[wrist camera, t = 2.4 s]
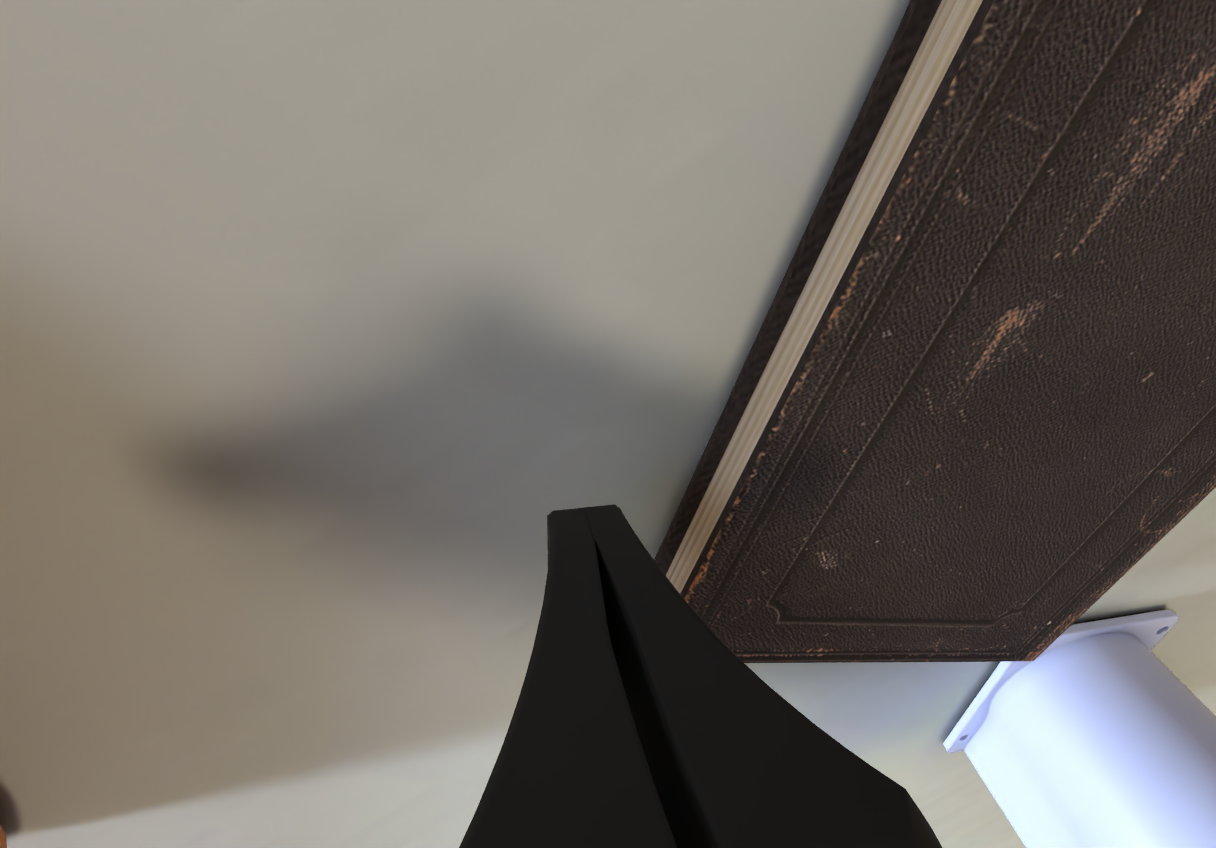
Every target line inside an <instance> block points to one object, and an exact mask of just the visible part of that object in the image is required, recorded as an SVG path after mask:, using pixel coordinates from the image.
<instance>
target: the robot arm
mask: <svg viewBox="0 0 1216 848" xmlns="http://www.w3.org/2000/svg"><path fill="white" fill-rule="evenodd" d="M547 531H548V574H547V581H546V587H545V594H544V601H543V606H542V611H541V616H540V620H539V625H538V629H537V634H536V638H535V643H534V647H533V651H532V655H531V658H530V662H529V666H528V669H527V673H526V676H525V680H524V683H523V686H522V690H521V693H520V696H519V699H518V702H517V705H516V708H515V711H514V714H513V717H512V720H511V723H510V726H509V729H508V732H507V734H506V737H505V740H504V743H503V745H502V748H501V751H500V753H499V756H498V758H497V761H496V763H495V766H494V768H493V771H492V773H491V776H490V778H489V781H488V783H487V786H486V788H485V791H484V793H483V796H482V798H481V800H480V803H479V805H478V808H477V810H476V812H475V814H474V817H473V819H472V821H471V823H470V825H469V828H468V830H467V832H466V834H465V836H464V838H463V841H462V843H461V845H460V847H459V848H942V846H941V845H940V843H939V841H938V839H937V837H936V835H935V834H934V832H933V830H932V828H931V827H930V825H929V824H928V822H927V820H926V819H925V817H924V816H923V814H922V813H921V811H920V810H919V808H918V807H917V805H916V804H915V802H914V801H913V800H912V798H911V797H910V795H909V794H908V792H907V791H906V789H905V788H903V787H902V786H900V785H899V784H897V783H896V782H894V781H893V780H891V779H890V778H888V777H887V776H885V775H884V774H882V773H881V772H879V771H878V770H876V769H875V768H873V767H872V766H870V765H869V764H868V763H866V762H865V761H863V760H862V759H861V758H859V757H858V756H856V755H855V754H854V753H852V752H851V751H849V750H848V749H846V748H845V747H844V746H842V745H841V744H840V743H839V742H837V741H836V740H835V739H833V738H832V737H831V736H829V735H828V734H827V733H825V732H824V731H823V730H821V729H820V728H819V727H817V726H816V725H815V724H813V723H812V722H811V721H810V720H809V719H807V718H806V717H805V716H804V715H803V714H801V713H800V712H799V711H798V710H797V709H795V708H794V707H793V706H792V705H791V704H789V703H788V702H787V701H786V700H785V699H783V698H782V697H781V696H780V695H779V694H777V693H776V692H775V691H774V690H773V689H771V688H770V687H769V686H768V685H767V684H766V683H765V682H764V681H762V680H761V679H760V678H759V677H758V676H757V675H756V674H755V673H754V672H753V671H752V670H751V669H750V668H748V667H747V666H746V665H745V664H744V663H743V662H742V661H741V660H740V659H739V658H738V657H737V656H736V655H735V654H734V653H733V652H732V651H731V650H730V649H729V648H728V647H727V646H726V645H725V644H724V643H723V642H722V641H721V640H720V639H719V638H718V637H717V636H716V635H715V633H714V632H713V631H712V630H711V629H710V628H709V627H708V626H707V625H706V624H705V623H704V621H703V620H702V619H701V618H700V617H699V616H698V615H697V613H696V612H695V611H694V610H693V609H692V608H691V607H690V605H689V604H688V603H687V602H686V601H685V599H684V598H683V597H682V596H681V595H680V593H679V592H678V591H677V590H676V588H675V587H674V586H673V585H672V583H671V582H670V581H669V579H668V578H667V577H666V576H665V574H664V573H663V572H662V570H661V569H660V568H659V567H658V565H657V564H656V562H655V561H654V560H653V558H652V557H651V556H650V554H649V553H648V551H647V550H646V549H645V547H644V546H643V544H642V543H641V541H640V540H639V538H638V537H637V535H636V534H635V532H634V531H633V529H632V528H631V526H630V525H629V523H628V521H627V520H626V518H625V516H624V515H623V513H622V511H621V509H620V508H619V507H617V506H616V505H605V506H596V507H586V508H577V509H567V510H557V511H553V512H551V513H550V514H549V515H548V516H547ZM1178 620H1179V616H1178V615H1177V614H1176V613H1175V612H1174V611H1172V610H1169V609H1167V610H1160V611H1154V612H1148V613H1142V614H1135V615H1129V616H1123V617H1117V618H1110V619H1104V620H1098V621H1092V622H1086V623H1079V624H1073V625H1071V626H1070V627H1069V628H1068V629H1067V630H1066V631H1065V632H1064V633H1062V634H1061V635H1060V636H1059V637H1058V638H1057V639H1056V640H1055V641H1054V642H1053V643H1052V644H1051V645H1050V646H1049V647H1048V648H1047V649H1046V650H1045V651H1044V652H1043V653H1042V654H1040V655H1039V656H1038V657H1037V658H1036V659H1035V660H1034V661H1001V662H1000V663H999V665H998V666H997V668H996V669H995V670H994V672H993V673H992V675H991V676H990V678H989V679H988V680H987V682H986V683H985V685H984V686H983V687H982V689H981V690H980V692H979V693H978V695H977V696H976V697H975V699H974V700H973V702H972V703H971V704H970V706H969V707H968V709H967V710H966V711H965V713H964V714H963V716H962V717H961V719H960V720H959V721H958V723H957V724H956V726H955V727H954V728H953V730H952V731H951V733H950V734H949V736H948V737H947V738H946V740H945V741H944V744H943V745H944V747H945V748H946V750H947V751H948V752H951V753H952V752H958V751H963V750H964V751H965V753H966V755H967V756H968V758H969V759H970V761H971V762H972V764H973V766H974V767H975V769H976V770H977V772H978V773H979V775H980V776H981V778H982V780H983V781H984V783H985V784H986V786H987V787H988V789H989V791H990V792H991V794H992V795H993V797H994V798H995V800H996V801H997V803H998V805H999V806H1000V808H1001V809H1002V811H1003V812H1004V814H1005V816H1006V817H1007V819H1008V820H1009V822H1010V823H1011V825H1012V826H1013V828H1014V830H1015V831H1016V833H1017V834H1018V836H1019V837H1020V839H1021V841H1022V842H1023V844H1024V845H1025V847H1026V848H1216V716H1215V715H1214V714H1213V713H1212V712H1211V711H1210V710H1209V709H1208V708H1207V707H1206V706H1205V705H1204V704H1203V703H1202V702H1201V701H1200V700H1199V699H1198V698H1197V697H1196V696H1195V695H1194V694H1193V693H1192V692H1191V691H1190V690H1189V689H1188V688H1187V687H1186V686H1185V685H1184V684H1183V683H1182V682H1181V681H1180V680H1179V679H1178V678H1177V677H1176V676H1175V675H1174V674H1173V673H1172V672H1171V671H1170V670H1169V669H1168V668H1167V667H1166V666H1165V665H1164V664H1163V663H1162V662H1161V661H1160V660H1159V659H1158V658H1157V657H1156V656H1155V655H1154V654H1153V653H1152V652H1151V650H1152V649H1153V647H1154V646H1155V645H1156V644H1157V643H1158V642H1159V641H1160V640H1161V639H1162V638H1163V637H1164V636H1165V635H1166V633H1167V632H1168V631H1169V630H1170V629H1171V628H1172V627H1173V626H1174V625H1175V624H1176V623H1177V622H1178Z"/></svg>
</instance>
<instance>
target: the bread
mask: <svg viewBox="0 0 1216 848" xmlns="http://www.w3.org/2000/svg"><path fill="white" fill-rule="evenodd" d="M0 848H7V842H6V834H5V833H4V831H3V829H2V827H1V825H0Z"/></svg>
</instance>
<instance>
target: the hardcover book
mask: <svg viewBox="0 0 1216 848" xmlns="http://www.w3.org/2000/svg"><path fill="white" fill-rule="evenodd" d="M1215 487H1216V0H911V1H910V4H909V6H908V8H907V10H906V12H905V15H904V17H903V19H902V21H901V23H900V25H899V28H898V30H897V32H896V34H895V36H894V39H893V41H892V43H891V45H890V47H889V50H888V52H887V54H886V56H885V58H884V60H883V63H882V65H881V67H880V69H879V71H878V74H877V76H876V78H875V80H874V82H873V84H872V87H871V89H870V91H869V93H868V95H867V98H866V100H865V102H864V104H863V106H862V108H861V111H860V113H859V115H858V117H857V119H856V122H855V124H854V126H853V128H852V130H851V133H850V135H849V137H848V139H847V141H846V143H845V146H844V148H843V150H842V152H841V154H840V157H839V159H838V161H837V163H836V165H835V167H834V170H833V172H832V174H831V176H830V178H829V181H828V183H827V185H826V187H825V189H824V191H823V194H822V196H821V198H820V200H819V202H818V205H817V207H816V209H815V211H814V213H813V215H812V218H811V220H810V222H809V224H808V226H807V229H806V231H805V233H804V235H803V237H802V240H801V242H800V244H799V246H798V248H797V250H796V253H795V255H794V257H793V259H792V261H791V264H790V266H789V268H788V270H787V272H786V274H785V277H784V279H783V281H782V283H781V285H780V288H779V290H778V292H777V294H776V296H775V298H774V301H773V303H772V305H771V307H770V309H769V312H768V314H767V316H766V318H765V320H764V323H763V325H762V327H761V329H760V331H759V333H758V336H757V338H756V340H755V342H754V344H753V347H752V349H751V351H750V353H749V355H748V357H747V360H746V362H745V364H744V366H743V368H742V371H741V373H740V375H739V377H738V379H737V381H736V384H735V386H734V388H733V390H732V392H731V395H730V397H729V399H728V401H727V403H726V405H725V408H724V410H723V412H722V414H721V416H720V419H719V421H718V423H717V425H716V427H715V430H714V432H713V434H712V436H711V438H710V440H709V443H708V445H707V447H706V449H705V451H704V454H703V456H702V458H701V460H700V462H699V464H698V467H697V469H696V471H695V473H694V475H693V478H692V480H691V482H690V484H689V486H688V488H687V491H686V493H685V495H684V497H683V499H682V502H681V504H680V506H679V508H678V510H677V512H676V515H675V517H674V519H673V521H672V523H671V526H670V528H669V530H668V532H667V534H666V537H665V539H664V541H663V543H662V545H661V547H660V550H659V552H658V554H657V556H656V558H655V562H656V564H657V565H658V567H659V568H660V569H661V570H662V572H663V573H664V574H665V576H666V577H667V578H668V579H669V581H670V582H671V583H672V585H673V586H674V587H675V588H676V590H677V591H678V592H679V593H680V595H681V596H682V597H683V598H684V599H685V601H686V602H687V603H688V604H689V605H690V607H691V608H692V609H693V610H694V611H695V612H696V613H697V615H698V616H699V617H700V618H701V619H702V620H703V621H704V623H705V624H706V625H707V626H708V627H709V628H710V629H711V630H712V631H713V632H714V633H715V635H716V636H717V637H718V638H719V639H720V640H721V641H722V642H723V643H724V644H725V645H726V646H727V647H728V648H729V649H730V650H731V651H732V652H733V653H734V654H735V655H736V656H737V657H738V658H739V659H740V660H741V661H742V662H743V663H811V662H986V661H1034V660H1035V659H1036V658H1037V657H1038V656H1039V655H1040V654H1042V653H1043V652H1044V651H1045V650H1046V649H1047V648H1048V647H1049V646H1050V645H1051V644H1052V643H1053V642H1054V641H1055V640H1056V639H1057V638H1058V637H1059V636H1060V635H1061V634H1062V633H1064V632H1065V631H1066V630H1067V629H1068V628H1069V627H1070V626H1071V625H1072V624H1073V623H1074V622H1075V621H1076V620H1077V619H1078V618H1079V617H1080V616H1081V615H1082V614H1083V613H1084V612H1086V611H1087V610H1088V609H1089V608H1090V607H1091V606H1092V605H1093V604H1094V603H1095V602H1096V601H1097V600H1098V599H1099V598H1100V597H1101V596H1102V595H1103V594H1104V593H1105V592H1106V591H1108V590H1109V589H1110V588H1111V587H1112V586H1113V585H1114V584H1115V583H1116V582H1117V581H1118V580H1119V579H1120V578H1121V577H1122V576H1123V575H1124V574H1125V573H1126V572H1127V571H1128V570H1130V569H1131V568H1132V567H1133V566H1134V565H1135V564H1136V563H1137V562H1138V561H1139V560H1140V559H1141V558H1142V557H1143V556H1144V555H1145V554H1146V553H1147V552H1148V551H1149V550H1150V549H1151V548H1153V547H1154V546H1155V545H1156V544H1157V543H1158V542H1159V541H1160V540H1161V539H1162V538H1163V537H1164V536H1165V535H1166V534H1167V533H1168V532H1169V531H1170V530H1171V529H1172V528H1173V527H1175V526H1176V525H1177V524H1178V523H1179V522H1180V521H1181V520H1182V519H1183V518H1184V517H1185V516H1186V515H1187V514H1188V513H1189V512H1190V511H1191V510H1192V509H1193V508H1194V507H1195V506H1197V505H1198V504H1199V503H1200V502H1201V501H1202V500H1203V499H1204V498H1205V497H1206V496H1207V495H1208V494H1209V493H1210V492H1211V491H1212V490H1213V489H1214V488H1215Z"/></svg>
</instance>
